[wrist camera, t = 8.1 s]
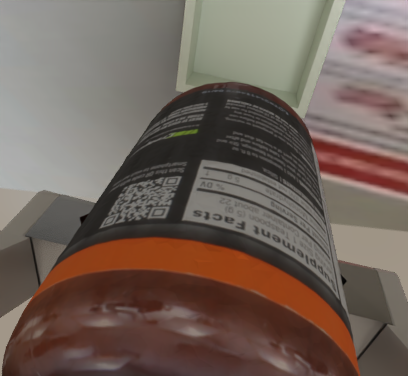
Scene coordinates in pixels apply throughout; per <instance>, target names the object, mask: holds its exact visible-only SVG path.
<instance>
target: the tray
mask: <svg viewBox="0 0 408 376" xmlns="http://www.w3.org/2000/svg"><path fill="white" fill-rule="evenodd" d="M345 1H346V0H186V4H185V13H184V21H183V30H182V39H181V48H180V57H179V66H178V75H177V84H176V91H179V92H186V91H188V90H190V89H192V88H195V87H199V86H202V85H204V84H212V83H225V82H238V83H244V84H249V85H252V86H255V87H259V88H261V89H263V90H265V91H268V92H270V93H272V94H274V95H275V96H277V97H278V98H280V99H281V100H283V101H284V102H285V103H287V104H288V105H289V106H290V107H291V108H292V109H293V110H294V111H295V112H296V113H297V114H298V115H299V117H300V118H304V117H305V114H306V111H307V109H308V106H309V103H310V100H311V97H312V94H313V92H314V89H315V86H316V83H317V80H318V77H319V75H320V72H321V69H322V66H323V63H324V60H325V58H326V55H327V52H328V49H329V46H330V43H331V41H332V38H333V35H334V32H335V29H336V26H337V24H338V21H339V18H340V15H341V12H342V9H343V7H344V4H345Z"/></svg>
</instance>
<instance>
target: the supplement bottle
mask: <svg viewBox="0 0 408 376" xmlns="http://www.w3.org/2000/svg"><path fill="white" fill-rule="evenodd" d="M2 376H360V372H359V367H358V362H357V356H356V351H355V347H354V343H353V333H352V329H351V324H350V319H349V314H348V309H347V305H346V300H345V295H344V290H343V285H342V280H341V275H340V269H339V265H338V260H337V256H336V250H335V245H334V241H333V235H332V230H331V225H330V220H329V215H328V210H327V205H326V200H325V195H324V190H323V185H322V181H321V176H320V171H319V165H318V160H317V156H316V153H315V149H314V146H313V143H312V139H311V137H310V134H309V131H308V129H307V127H306V126H305V124H304V122H303V121H302V119H301V118H300V117H299V115H298V114H297V113H296V112H295V111H294V110H293V109H292V108H291V107H290V106H289V105H288V104H287V103H285V102H284V101H283V100H281V99H280V98H278V97H277V96H275V95H274V94H272V93H270V92H268V91H265V90H263V89H261V88H259V87H255V86H252V85H249V84H244V83H238V82H225V83H212V84H204V85H202V86H199V87H195V88H192V89H190V90H188V91H186V92H184V93H183V94H181V95H179V96H177V97H175V98H174V99H173V100H172V101H171V102H169V103H168V104H167V105H166V106H165V107H163V109H162V110H161V111H160V112H159V113H158V114H157V116H156V117H155V118H154V119H153V120H152V121H151V123H150V124H149V126H148V128H147V129H146V131H145V132H144V133H143V135H142V136H141V138H140V139H139V141H138V142H137V143H136V145H135V146H134V148H133V149H132V151H131V152H130V154H129V155H128V156H127V157H126V159H125V161H124V163H123V164H122V166H121V167H120V169H119V170H118V171H117V173H116V174H115V176H114V178H113V179H112V180H111V182H110V183H109V185H108V186H107V188H106V189H105V191H104V192H103V194H102V195H101V197H100V198H99V199H98V201H97V203H96V204H95V205H94V207H93V208H92V210H91V211H90V213H89V214H88V216H87V217H86V219H85V220H84V222H83V223H82V225H81V226H80V227H79V229H78V230H77V232H76V233H75V235H74V236H73V238H72V239H71V241H70V242H69V244H68V245H67V247H66V248H65V249H64V251H63V252H62V253H61V254H60V256H59V257H58V259H57V261H56V263H55V264H54V266H53V267H52V269H51V271H50V272H49V274H48V275H47V277H46V278H45V280H44V281H43V283H42V284H41V285H40V287H39V288H38V290H37V291H36V293H35V294H34V296H33V297H32V299H31V300H30V302H29V303H28V305H27V307H26V308H25V310H24V311H23V313H22V315H21V317H20V319H19V321H18V323H17V325H16V327H15V329H14V331H13V333H12V335H11V338H10V340H9V342H8V344H7V347H6V350H5V354H4V359H3V366H2Z"/></svg>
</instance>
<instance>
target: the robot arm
mask: <svg viewBox="0 0 408 376" xmlns="http://www.w3.org/2000/svg"><path fill="white" fill-rule="evenodd" d="M95 204H96V203H93V202H89V201H85V200H82V199H78V198H74V197H70V196H67V195H61V194H57V193H53V192H50V191H46V190H43V191H40V192H38V193H37V194H36V195H35V196H34V197H33V198H32V199H31V201H30V202H29V203H28V204H27V205H26V206H25V207H24V208H23V209H22V210H21V211H20V212H19V213H18V214H17V215H16V216H15V217H14V218H13V219H12V220H11V221H10V222H9V224H8V225H7V226H6V227H5V228H4V229H3V230H2V231H0V318H1V317H2V316H4V315H5V314H7V313H8V312H10V311H11V310H13V309H14V308H16V307H17V306H19V305H20V304H22V303H23V302H24V301H26V300H28V299H29V298H31V297H32V296H34V294H35V293H36V291H37V290H38V288H39V287H40V285H41V284H42V283H43V281H44V280H45V278H46V277H47V275H48V274H49V272H50V271H51V269H52V267H53V266H54V264H55V263H56V261H57V259H58V257H59V256H60V254H61V253H62V252H63V251H64V249H65V248H66V247H67V245H68V244H69V242H70V241H71V239H72V238H73V236H74V235H75V233H76V232H77V230H78V229H79V227H80V226H81V225H82V223H83V222H84V220H85V219H86V217H87V216H88V214H89V213H90V211H91V210H92V208H93V207H94V205H95ZM338 265H339V269H340V275H341V280H342V285H343V290H344V295H345V300H346V305H347V309H348V314H349V319H350V324H351V329H352V333H353V343H354V347H355V351H356V356H357V362H358V367H359V372H360V376H408V302H407V299H406V296H405V293H404V291H403V288H402V286H401V283H400V280H399V277H398V275H397V274H396V273H395V272H390V271H386V270H381V269H377V268H371V267H367V266H362V265H358V264H353V263H349V262H345V261H340V260H338Z"/></svg>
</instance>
